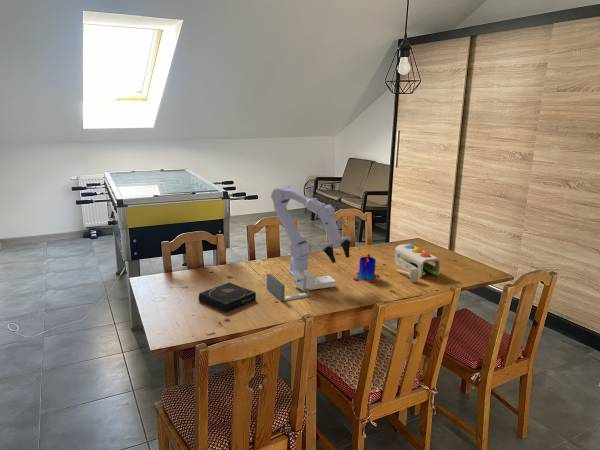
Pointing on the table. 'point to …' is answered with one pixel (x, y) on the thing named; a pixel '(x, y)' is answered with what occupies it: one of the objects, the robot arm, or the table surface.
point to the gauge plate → (300, 280)
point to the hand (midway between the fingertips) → (341, 260)
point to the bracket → (318, 281)
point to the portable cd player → (227, 297)
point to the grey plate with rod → (280, 289)
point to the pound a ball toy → (415, 261)
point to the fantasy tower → (367, 270)
